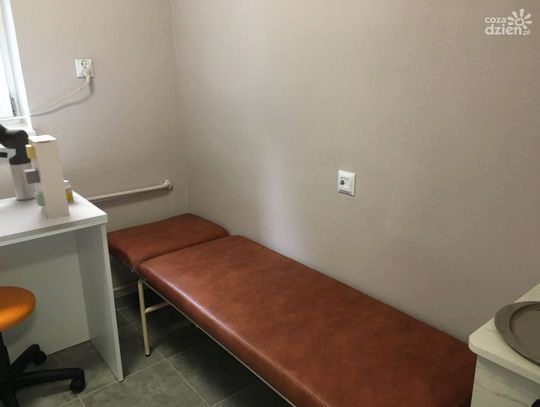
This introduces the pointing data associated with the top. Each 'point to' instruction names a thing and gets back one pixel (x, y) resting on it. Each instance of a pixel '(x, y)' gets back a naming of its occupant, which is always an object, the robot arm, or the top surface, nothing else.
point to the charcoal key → (32, 176)
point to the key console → (50, 176)
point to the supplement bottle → (68, 191)
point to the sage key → (39, 198)
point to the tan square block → (30, 151)
